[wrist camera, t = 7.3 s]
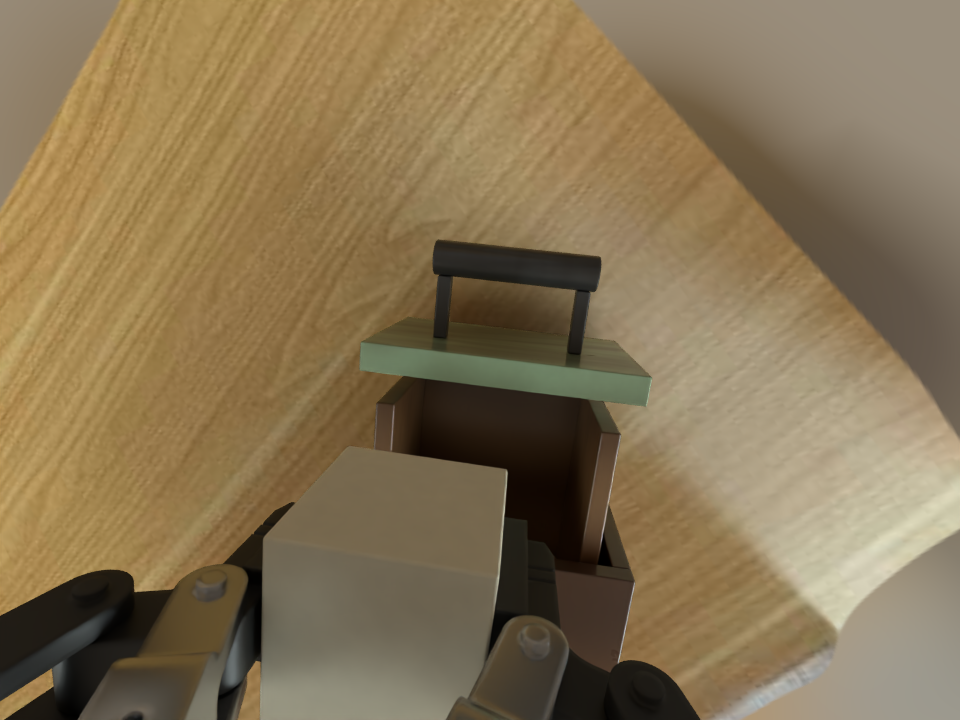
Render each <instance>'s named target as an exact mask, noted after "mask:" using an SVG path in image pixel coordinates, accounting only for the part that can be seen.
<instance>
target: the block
mask: <svg viewBox="0 0 960 720" xmlns="http://www.w3.org/2000/svg"><path fill="white" fill-rule="evenodd" d="M507 474H508V472H507V470H506V469H501V468H494V467H488V466H481V465H474V464H468V463H461V462H454V461H448V460H441V459H434V458H428V457H421V456H414V455H408V454H401V453H394V452H388V451H381V450H374V449H368V448H361V447H354V446H348V447H347V448H346V449H345V450H344V451H343V452H342V453H341V454H340V455H339V456H338V457H337V459H336V460H335V461H334V462H333V463H332V464H331V465H330V466H329V467H328V468H327V469H326V470H325V471H324V473H323V474H322V475H321V476H320V477H319V478H318V479H317V480H316V481H315V482H314V483H313V484H312V486H311V487H310V488H309V489H308V490H307V491H306V492H305V493H304V494H303V495H302V496H301V497H300V499H299V500H298V501H297V502H296V503H295V504H294V505H293V506H292V507H291V508H290V509H289V510H288V511H287V513H286V514H285V515H284V516H283V517H282V518H281V519H280V520H279V521H278V522H277V523H276V524H275V526H274V527H273V528H272V529H271V530H270V531H269V532H268V533H267V534H266V535H265V536H264V538H263V566H262V626H261V686H260V720H446V718H447V716H448V714H449V712H450V710H451V709H452V707H453V705H454V703H455V702H456V700H457V699H458V698H459V697H460V696H463V697H465V698H468V696H469V694H470V692H471V690H472V688H473V686H474V684H475V682H476V680H477V678H478V676H479V674H480V672H481V670H482V668H483V666H484V664H485V662H486V660H487V659H488V652H489V646H490V639H491V632H492V625H493V618H494V611H495V604H496V598H497V591H498V584H499V576H500V564H501V551H502V538H503V525H504V512H505V500H506V487H507Z"/></svg>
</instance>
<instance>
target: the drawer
mask: <svg viewBox="0 0 960 720" xmlns="http://www.w3.org/2000/svg"><path fill="white" fill-rule="evenodd" d="M433 272H434V274H436V275H439V276H438V282H437V294H436V306H435V318H434V320H432V319H424V318H415V317H407V318H405V319H403V320H401V321H399V322H397V323H395V324H393V325H392V326H390V327H388V328H386V329H384V330H382V331H380V332H378V333H377V334H375V335H373V336H371V337H369V338H367V339H365V340H363V341H362V342H361V347H360V368H359V369H360V370H361V371H368V372H376V373H384V374H392V375H400V376H403V377H402V378H401V379H400V380H399V381H398V382H397V383H396V384H395V385H394V386H393V387H392V388H391V389H390V390H389V391H388V392H387V393H386V394H385V395H384V396H383V397H382V398H381V399H380V400H379V401H378V402H377V403H376V417H375V434H374V450H381V451H388V452H394V453H401V454H408V455H414V456H421V457H428V458H434V459H441V460H448V461H454V462H461V463H468V464H474V465H481V466H488V467H494V468H501V469H506V470H507V472H508V474H507V487H506V500H505V512H504V517H508V518H515V519H521V520H527V539H528V540H532V541H538V542H544V543H545V544H546V545H547V547H548V548H549V550H550V551H551V553H552V554H553V556H554V559H561V560H568V561H574V562H581V563H588V564H594V565H598V559H599V554H600V548H601V543H602V537H603V532H604V526H605V521H606V516H607V510H608V505H609V499H610V494H611V488H612V483H613V477H614V472H615V466H616V461H617V455H618V450H619V444H620V439H621V434H620V432H619V430H618V428H617V426H616V424H615V422H614V420H613V419H612V417H611V415H610V413H609V411H608V409H607V407H606V405H605V404H604V402H603V401H606V402H614V403H622V404H630V405H638V406H647V402H648V397H649V392H650V387H651V381H652V377H651V376H650V375H649V374H648V373H647V372H646V371H645V370H644V369H643V368H642V367H641V366H640V365H639V364H638V363H637V362H636V361H635V360H634V359H633V358H632V357H631V356H630V355H628V354H627V353H626V352H625V351H624V350H623V349H622V348H621V347H620V346H619V345H618V344H617V343H616V342H615V341H610V340H602V339H593V338H585V337H584V333H585V327H586V320H587V314H588V307H589V301H590V294H591V293H590V292H595V291H596V289H597V287H598V283H599V279H600V273H601V257H599V256H590V255H580V254H571V253H562V252H552V251H543V250H533V249H524V248H514V247H505V246H496V245H486V244H477V243H467V242H458V241H448V240H439V239H438V240H437V241H436V243H435V246H434V252H433ZM453 276H454V277H463V278H472V279H481V280H490V281H499V282H508V283H517V284H526V285H535V286H544V287H553V288H562V289H571V290H576V291H575V297H574V304H573V311H572V317H571V324H570V331H569V336H568V335H559V334H551V333H542V332H534V331H526V330H517V329H509V328H500V327H492V326H483V325H475V324H466V323H458V322H449V317H450V306H451V295H452V284H453Z"/></svg>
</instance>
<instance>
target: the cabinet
mask: <svg viewBox="0 0 960 720" xmlns="http://www.w3.org/2000/svg"><path fill="white" fill-rule="evenodd" d="M554 564H555V575H556V585H557V596H558V606H559V617H560V627H561V631H562V632H563V633H564V635H565V636H566V638H567V640H568V644H569V647H570V648H571V649H572V651H573V652H574V653H576V654H577V655H578V656H579V657H580V658H582V659H583V660H585V661H587V662H589V663H590V664H592V665H595V666H597V667H599V668H601V669H603V670H606V671H608V672H611V670H612V668H613V667H614V666H615V665H617V664H618V663H619V659H620V654H621V649H622V644H623V640H624V635H625V630H626V625H627V620H628V615H629V610H630V605H631V600H632V596H633V591H634V586H635V580H634V577H633V574H632V571H631V569H630V566H629V563H628V560H627V557H626V554H625V551H624V548H623V545H622V542H621V539H620V536H619V533H618V530H617V527H616V524H615V521H614V518H613V515H612V512H611V509H610V506H609V505H608V510H607V516H606V521H605V526H604V532H603V537H602V543H601V548H600V554H599V559H598V565H594V564H588V563H581V562H574V561H568V560H561V559H554Z"/></svg>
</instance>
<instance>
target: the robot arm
mask: <svg viewBox="0 0 960 720" xmlns="http://www.w3.org/2000/svg"><path fill="white" fill-rule="evenodd" d="M294 504H295V503H294V502H291V503H289V504H287V505H285V506H283V507H281V508H279V509H277V510H275V511H274V512H273V513H272V514H271V515H270V516H269V517H268V518H267V519H266V520H265V521H264V523H263V525H262V524H261V525H260V526H259V528H258V529H257V530H256V531H255V532H254V534H252V535H251V536H250V537H249V538H248V539H247V540H246V541H245V542H244V543H243V544H242V545H241V546H240V547H239V548H238V549H237V550H236V551H235V552H234V553H233V554H232V555H231V556H230V557H229V558H228V559H227V560H226V561H225V562H224V563H223V564H216V565H210V566H206V567H203V568H200V569H197V570H195V571H193V572H191V573H190V574H188V575H186V576H185V577H184V578H182V579H181V580H180V581H179V582H178V583H177V585H176V586H175V588H174V589H172V590H160V591H146V592H134V580H133V577H132V576H131V575H130V574H129V573H127V572H124V571H120V570H101V571H95V572H91V573H87V574H84V575H81V576H78V577H76V578H74V579H72V580H69V581H67V582H65V583H63V584H62V585H60V586H58V587H56V588H54V589H52V590H50V591H48V592H46V593H44V594H42V595H40V596H38V597H36V598H34V599H32V600H30V601H28V602H26V603H24V604H22V605H20V606H19V607H17V608H15V609H13V610H11V611H9V612H7V613H5V614H3V615H1V616H0V701H1V700H3V699H4V698H6V697H8V696H9V695H11V694H12V693H14V692H15V691H17V690H18V689H20V688H22V687H23V686H25V685H26V684H28V683H29V682H31V681H33V680H34V679H36V678H37V677H39V676H40V675H42V674H44V673H45V672H47V671H48V670H50V669H51V668H52V674H53V684H54V687H52V688H51V689H49V690H48V691H46V692H45V693H43V694H42V695H40V696H39V697H37V698H36V699H34V700H33V701H31V702H30V703H28V704H27V705H25V706H24V707H23V708H21V709H20V710H18V711H17V712H15V713H14V714H12V715H11V716H9V717H8V718H6V719H5V720H237V719H238V716H239V712H240V709H241V705H242V702H243V698H244V695H245V691H246V687H247V673H248V672H249V670H250V669H251V667H252V666H253V664H254V663H255V661H260V662H261V626H262V566H263V538H264V536H265V535H266V534H267V533H268V532H269V531H270V530H271V529H272V528H273V527H274V526H275V524H276V523H277V522H278V521H279V520H280V519H281V518H282V517H283V516H284V515H285V514H286V513H287V511H288V510H289V509H290V508H291V507H292V506H293V505H294ZM446 720H700V718H699V717H698V715H697V714H696V712H695V711H694V709H693V708H692V706H691V705H690V703H689V701H688V700H687V698H686V697H685V695H684V694H683V692H682V691H681V689H680V688H679V687H678V685H677V684H676V683H675V682H674V681H673V680H672V679H671V678H670V677H669V676H668V675H667V674H666V673H664V672H663V671H661V670H660V669H658V668H656V667H655V666H653V665H650V664H648V663H645V662H641V661H635V660H628V661H623V662H620V663H618V664H617V665H615V666H614V667H613V668H612V670H611V672H608V671H606V670H603V669H601V668H599V667H597V666H595V665H592V664H590V663H589V662H587V661H585V660H583V659H582V658H580V657H579V656H578V655H577V654H576V653H574V652H573V651H572V649H571V648H570V647H569V644H568V640H567V638H566V636H565V635H564V633H563V632H562V631H561V627H560V617H559V606H558V596H557V585H556V575H555V564H554V556H553V554H552V553H551V551H550V550H549V548H548V547H547V545H546V544H545V543H544V542H538V541H532V540H528V539H527V520H521V519H515V518H508V517H504V525H503V538H502V551H501V564H500V576H499V584H498V591H497V598H496V604H495V611H494V618H493V625H492V632H491V639H490V646H489V652H488V659H487V660H486V662H485V664H484V666H483V668H482V670H481V672H480V674H479V676H478V678H477V680H476V682H475V684H474V686H473V688H472V690H471V692H470V694H469V696H468V698H465V697H463V696H460V697H459V698H458V699H457V700H456V702H455V703H454V705H453V707H452V709H451V710H450V712H449V714H448V716H447V718H446Z"/></svg>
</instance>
